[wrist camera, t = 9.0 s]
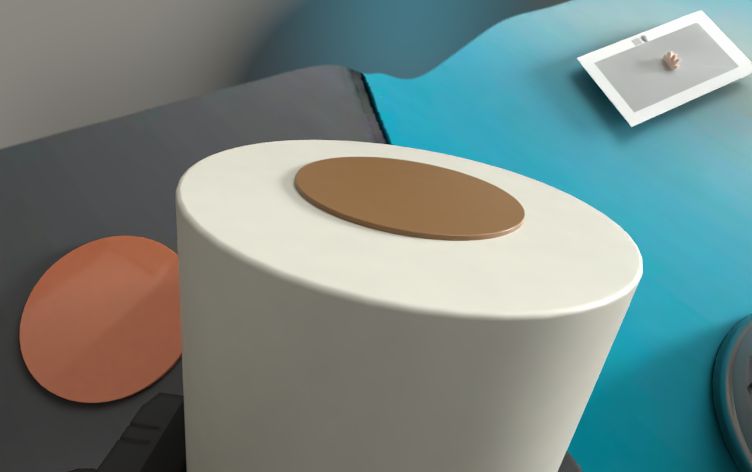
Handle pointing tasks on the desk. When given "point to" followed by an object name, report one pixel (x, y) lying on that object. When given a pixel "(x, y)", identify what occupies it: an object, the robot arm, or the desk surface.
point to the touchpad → (666, 67)
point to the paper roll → (388, 311)
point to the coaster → (104, 320)
